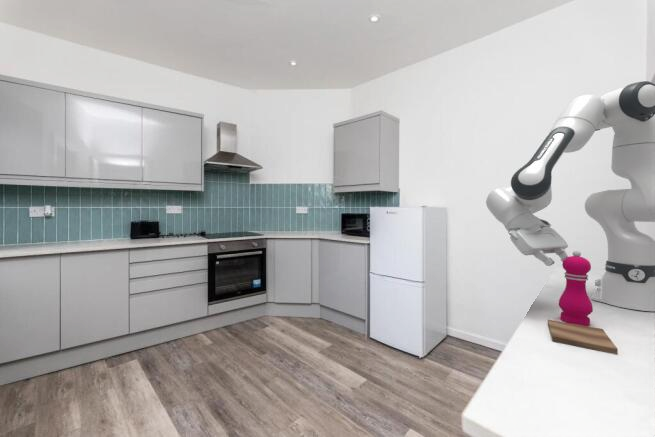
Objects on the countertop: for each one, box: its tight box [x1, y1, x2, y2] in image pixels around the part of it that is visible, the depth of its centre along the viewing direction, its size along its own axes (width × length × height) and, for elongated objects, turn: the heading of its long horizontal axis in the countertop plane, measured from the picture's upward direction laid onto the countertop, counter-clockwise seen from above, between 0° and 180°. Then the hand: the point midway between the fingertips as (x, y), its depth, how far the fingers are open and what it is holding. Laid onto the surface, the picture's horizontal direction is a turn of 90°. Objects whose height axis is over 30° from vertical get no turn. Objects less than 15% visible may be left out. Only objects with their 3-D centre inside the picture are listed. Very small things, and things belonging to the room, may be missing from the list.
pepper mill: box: [558, 250, 594, 327], centre depth 80 cm, size 7×7×20 cm
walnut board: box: [547, 319, 618, 355], centre depth 70 cm, size 13×11×1 cm
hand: (560, 263), depth 83 cm, fingers open, 8 cm apart
